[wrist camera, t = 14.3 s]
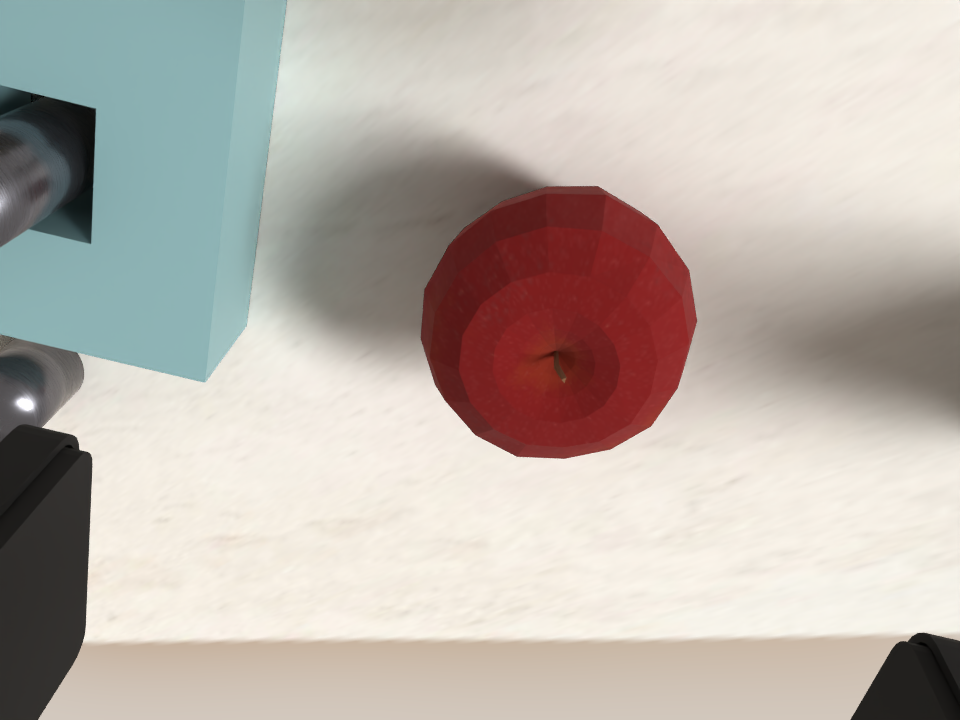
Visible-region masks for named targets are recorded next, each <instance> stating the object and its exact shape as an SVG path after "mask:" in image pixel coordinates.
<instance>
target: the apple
mask: <svg viewBox="0 0 960 720" xmlns="http://www.w3.org/2000/svg"><path fill="white" fill-rule="evenodd" d="M696 323H697V317H696V311H695V305H694V299H693V292H692V286H691V280H690V273H689V270H688V268H687V267H686V265H685V264H684V262H683V261H682V259H681V258H680V256H679V255H678V254H677V252H676V251H675V249H674V248H673V246H672V245H671V243H670V242H669V240H668V239H667V237H666V236H665V235H664V233H663V232H662V230H661V229H660V227H659V226H658V224H656V223H655V222H653V221H652V220H651V219H649V218H648V217H647V216H645V215H644V214H643V213H641V212H640V211H638V210H636V209H635V208H633V207H632V206H630V205H628V204H627V203H625V202H623V201H622V200H620V199H618V198H617V197H615V196H613V195H612V194H610V193H608V192H607V191H605V190H603V189H602V188H600V187H598V186H556V187H544V188H541V189H538V190H535V191H532V192H529V193H526V194H523V195H520V196H517V197H514V198H511V199H508V200H505V201H502V202H500V203H499V204H498V205H496V206H495V207H493V208H492V209H490V210H489V211H488V212H486V213H485V214H483V215H482V216H481V217H479V218H478V219H476V220H475V221H474V222H472V223H471V224H469V225H468V226H466V227H465V228H464V229H463V230H462V231H461V232H460V233H459V235H458V236H457V237H456V238H455V239H454V240H453V241H452V242H451V244H450V245H449V246H448V248H447V250H446V252H445V253H444V255H443V257H442V259H441V261H440V263H439V264H438V266H437V268H436V270H435V272H434V273H433V275H432V277H431V279H430V281H429V282H428V284H427V286H426V288H425V290H424V302H423V315H422V327H421V341H422V344H423V347H424V351H425V354H426V357H427V360H428V363H429V367H430V370H431V373H432V376H433V379H434V383H435V385H436V387H437V388H438V390H439V392H440V393H441V395H442V396H443V398H444V400H445V401H446V402H447V403H448V404H449V406H450V407H451V408H452V409H453V410H454V411H455V412H456V414H457V415H458V416H459V417H460V418H461V419H462V420H463V422H464V423H465V424H466V425H467V426H468V427H469V428H470V430H471V431H472V432H473V433H474V434H475V435H476V436H478V437H480V438H482V439H484V440H486V441H488V442H490V443H492V444H494V445H496V446H497V447H499V448H501V449H503V450H505V451H507V452H509V453H511V454H513V455H515V456H517V457H538V458H561V459H565V458H570V457H575V456H580V455H585V454H590V453H595V452H600V451H605V450H610V449H612V448H614V447H616V446H617V445H619V444H621V443H623V442H624V441H626V440H628V439H630V438H631V437H633V436H635V435H637V434H638V433H640V432H642V431H644V430H645V429H647V428H649V427H651V426H652V424H653V423H654V421H655V420H656V419H657V417H658V416H659V414H660V413H661V411H662V410H663V408H664V407H665V406H666V404H667V403H668V401H669V400H670V398H671V397H672V395H673V394H674V393H675V391H676V390H677V388H678V385H679V382H680V379H681V376H682V373H683V369H684V366H685V362H686V359H687V355H688V352H689V348H690V345H691V341H692V337H693V334H694V330H695V327H696Z"/></svg>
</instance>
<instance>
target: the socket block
mask: <svg viewBox="0 0 960 720" xmlns="http://www.w3.org/2000/svg"><path fill="white" fill-rule="evenodd" d="M286 4H287V0H0V115H3V114H5V113H8V112H10V111H12V110H15V109H17V108H20V107H22V106H25V105H27V104H29V103H31V93H34V94H39V95H43V96H47V97H51V98H55V99H59V100H63V101H67V102H71V103H75V104H79V105H83V106H87V107H91V108H96V128H95V156H94V183H93V188H90V189H89V190H87V191H86V192H84V193H83V194H81V195H80V196H78V197H77V198H75V199H74V200H72V201H71V202H69V203H68V204H66V205H65V206H63V207H61V208H60V209H58V210H57V211H55V212H54V213H52V214H51V215H49V216H48V217H46V218H45V219H43V220H42V221H40V222H39V223H37V224H36V225H34V226H32V227H31V228H29V229H28V230H26V231H25V232H23V233H22V234H20V235H19V236H17V237H16V238H14V239H13V240H11V241H10V242H8V243H7V244H5V245H3V246H2V247H0V334H1V335H5V336H9V337H14V338H18V339H22V340H26V341H31V342H35V343H39V344H43V345H48V346H52V347H56V348H60V349H65V350H69V351H73V352H77V353H82V354H86V355H90V356H94V357H99V358H103V359H107V360H111V361H116V362H120V363H124V364H128V365H133V366H137V367H141V368H145V369H150V370H154V371H158V372H162V373H167V374H171V375H175V376H179V377H183V378H188V379H192V380H196V381H200V382H206V381H207V379H208V378H209V377H210V375H211V374H212V373H213V371H214V370H215V368H216V367H217V366H218V364H219V363H220V362H221V360H222V359H223V357H224V356H225V355H226V353H227V352H228V351H229V349H230V348H231V347H232V345H233V344H234V342H235V341H236V340H237V338H238V337H239V336H240V334H241V333H242V331H243V330H244V329H245V327H246V326H247V318H248V310H249V302H250V294H251V286H252V278H253V270H254V262H255V254H256V245H257V237H258V229H259V221H260V213H261V205H262V197H263V189H264V181H265V173H266V165H267V157H268V149H269V141H270V133H271V125H272V117H273V108H274V100H275V92H276V84H277V76H278V68H279V60H280V52H281V44H282V36H283V28H284V20H285V12H286Z"/></svg>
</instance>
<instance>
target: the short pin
mask: <svg viewBox="0 0 960 720" xmlns="http://www.w3.org/2000/svg"><path fill="white" fill-rule="evenodd" d="M83 379H84V368H83V364H82V361H81V359H80V357H79V355H78V354H77V352H73V351H69V350H65V349H60V348H56V347H52V346H48V345H43V344H39V343H35V342H31V341H26V340H22V339H18V338H14V339H13V340H12V341H11V342H9V343H8V344H7V345H6V346H4V347H3V348H2V349H1V350H0V442H1V441H2V440H3V439H4V438H5V437H6V436H7V435H8V434H9V433H10V432H11V431H12V430H13V429H15V428H16V427H17V426H19V425H22V424H27V425H32V426H36V427H40V428H42V427H43V426H44V425H45V424H46V423H47V422H48V421H49V420H50V419H51V418H52V417H53V416H54V415H55V413H56V412H57V411H58V410H59V409H60V408H61V407H62V406H63V405H64V404H65V403H66V402H67V401H68V400H69V399H70V398H71V397H72V396H73V395H74V394H75V393H76V392H77V391H78V390H79V389H80V387H81V385H82V383H83Z"/></svg>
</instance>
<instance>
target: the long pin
mask: <svg viewBox="0 0 960 720" xmlns="http://www.w3.org/2000/svg"><path fill="white" fill-rule="evenodd" d="M95 128H96V108H91V107H87V106H83V105H79V104H75V103H71V102H67V101H63V100H59V99H55V98H51V97H47V96H46V97H44V98H41V99H39V100H37V101H34V102H32V103H29V104H27V105H25V106H22V107H20V108H17V109H15V110H12V111H10V112H8V113H5V114H3V115H0V247H2V246H3V245H5V244H7V243H8V242H10V241H11V240H13V239H14V238H16V237H17V236H19V235H20V234H22V233H23V232H25V231H26V230H28V229H29V228H31V227H32V226H34V225H36V224H37V223H39V222H40V221H42V220H43V219H45V218H46V217H48V216H49V215H51V214H52V213H54V212H55V211H57V210H58V209H60V208H61V207H63V206H65V205H66V204H68V203H69V202H71V201H72V200H74V199H75V198H77V197H78V196H80V195H81V194H83V193H84V192H86V191H87V190H89V189H90V188H92V187H93V183H94V156H95Z"/></svg>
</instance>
